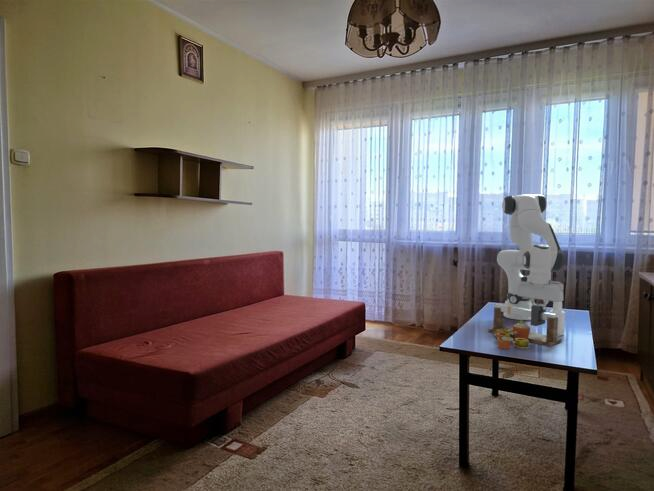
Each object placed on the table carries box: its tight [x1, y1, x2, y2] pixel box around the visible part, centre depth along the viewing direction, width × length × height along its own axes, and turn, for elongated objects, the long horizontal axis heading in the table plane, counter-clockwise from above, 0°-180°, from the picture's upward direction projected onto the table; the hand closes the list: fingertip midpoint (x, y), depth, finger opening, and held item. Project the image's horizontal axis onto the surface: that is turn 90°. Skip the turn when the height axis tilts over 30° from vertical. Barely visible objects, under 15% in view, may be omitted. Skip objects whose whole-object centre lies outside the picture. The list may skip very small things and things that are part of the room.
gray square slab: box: [530, 303, 547, 327], centre depth 196 cm, size 2×9×9 cm, turn 128°
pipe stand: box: [487, 303, 563, 348], centre depth 202 cm, size 30×12×14 cm, turn 38°
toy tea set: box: [493, 320, 531, 350], centre depth 191 cm, size 26×16×10 cm, turn 158°
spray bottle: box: [548, 301, 566, 336], centre depth 208 cm, size 7×7×18 cm
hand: (538, 308), depth 196 cm, fingers closed on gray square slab, 2 cm apart
